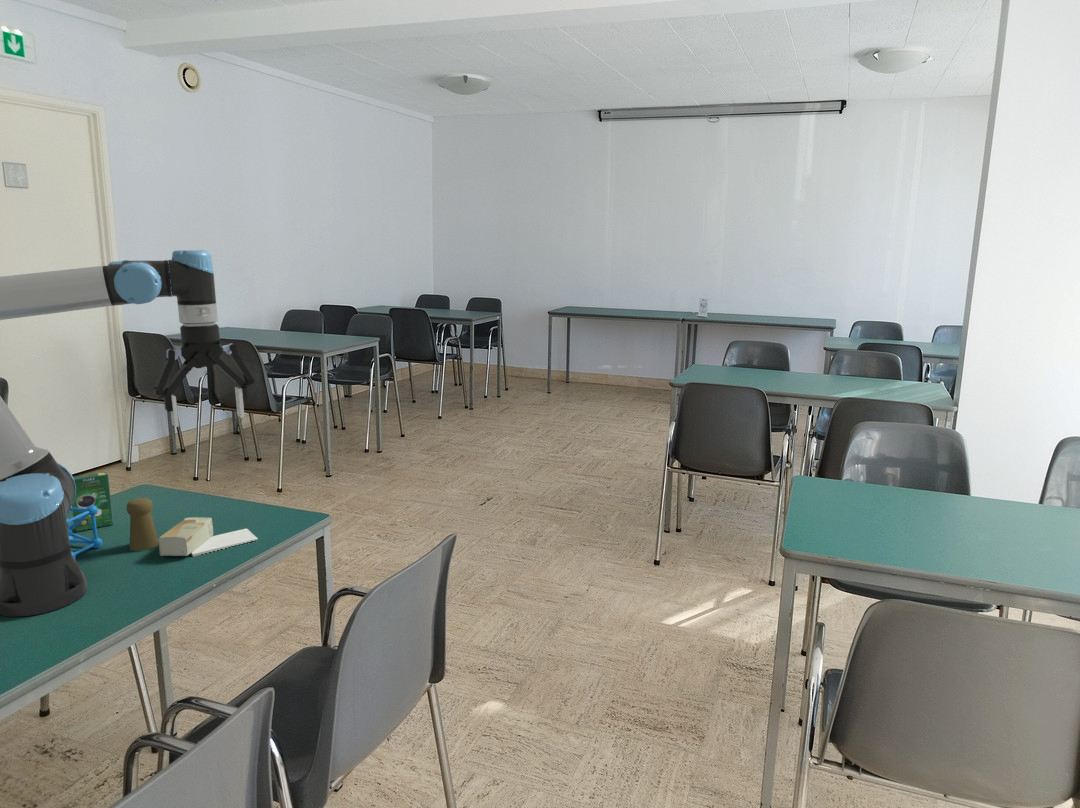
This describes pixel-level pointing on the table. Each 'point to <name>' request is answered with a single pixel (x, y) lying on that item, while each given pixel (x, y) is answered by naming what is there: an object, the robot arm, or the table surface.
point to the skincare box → (185, 536)
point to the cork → (141, 525)
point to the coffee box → (93, 499)
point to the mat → (224, 541)
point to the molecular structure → (93, 543)
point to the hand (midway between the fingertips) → (209, 421)
